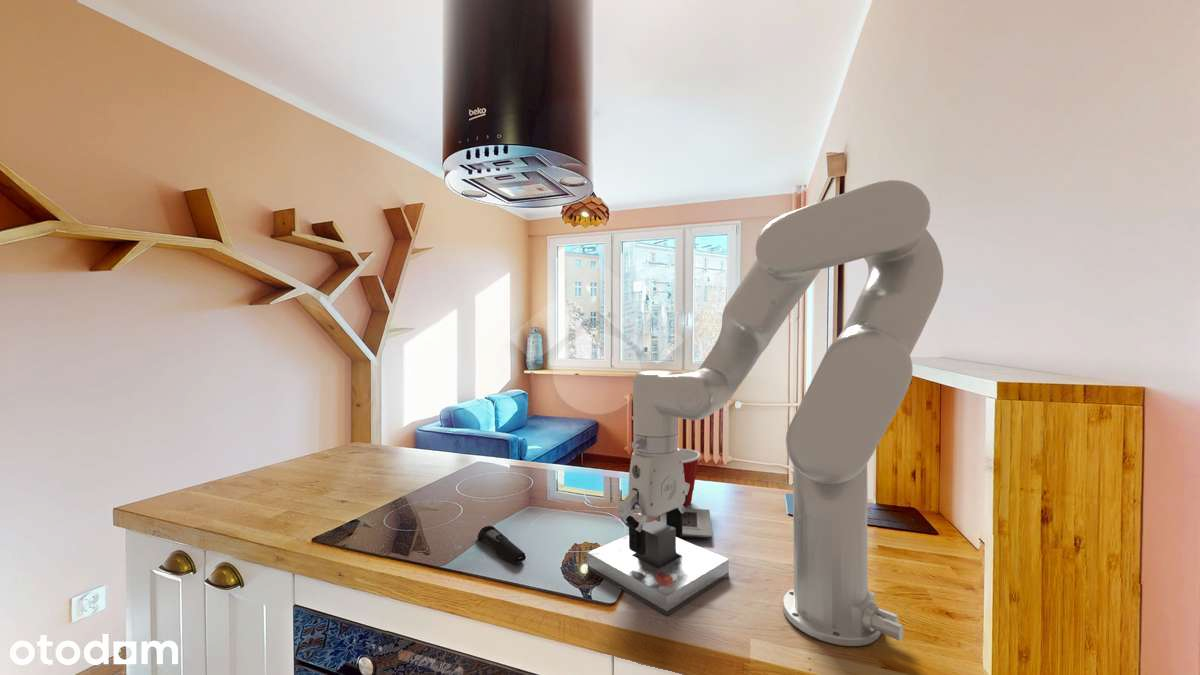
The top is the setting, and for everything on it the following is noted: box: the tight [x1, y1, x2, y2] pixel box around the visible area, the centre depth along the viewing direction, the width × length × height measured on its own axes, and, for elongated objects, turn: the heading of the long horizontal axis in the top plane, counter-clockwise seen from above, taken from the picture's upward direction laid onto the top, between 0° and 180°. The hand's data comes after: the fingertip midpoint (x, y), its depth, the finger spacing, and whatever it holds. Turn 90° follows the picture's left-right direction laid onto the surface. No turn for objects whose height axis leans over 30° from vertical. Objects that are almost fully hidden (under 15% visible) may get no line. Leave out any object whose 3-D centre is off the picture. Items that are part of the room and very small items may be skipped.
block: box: [638, 519, 676, 569], centre depth 78 cm, size 5×5×7 cm
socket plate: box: [587, 534, 730, 617], centre depth 78 cm, size 18×16×4 cm
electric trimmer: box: [476, 525, 527, 565], centre depth 87 cm, size 4×16×3 cm, turn 38°
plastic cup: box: [679, 448, 701, 508], centre depth 110 cm, size 11×11×12 cm
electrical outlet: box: [659, 507, 713, 540], centre depth 96 cm, size 13×10×2 cm
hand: (656, 542), depth 78 cm, fingers open, 9 cm apart
